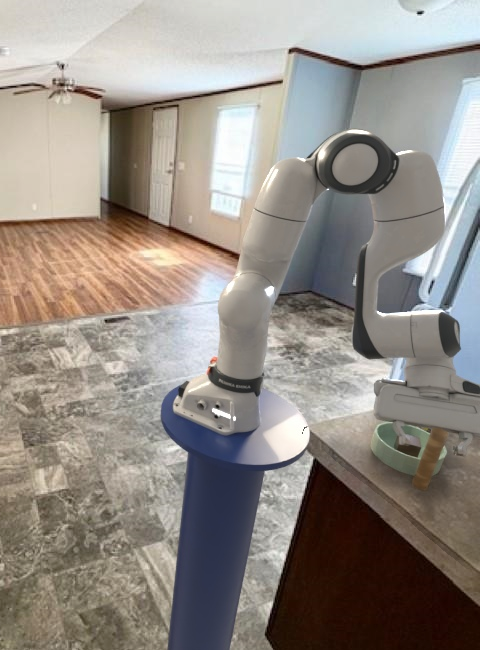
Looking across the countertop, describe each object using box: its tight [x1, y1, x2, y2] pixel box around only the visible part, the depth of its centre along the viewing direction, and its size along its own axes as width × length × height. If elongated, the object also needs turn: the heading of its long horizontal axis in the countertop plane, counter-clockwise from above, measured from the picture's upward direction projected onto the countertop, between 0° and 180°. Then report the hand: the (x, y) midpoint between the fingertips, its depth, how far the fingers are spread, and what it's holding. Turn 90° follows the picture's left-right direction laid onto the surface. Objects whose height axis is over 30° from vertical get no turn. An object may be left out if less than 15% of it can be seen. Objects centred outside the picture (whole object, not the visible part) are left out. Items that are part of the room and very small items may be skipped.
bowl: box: [370, 421, 448, 477], centre depth 96 cm, size 13×13×4 cm
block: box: [394, 434, 421, 458], centre depth 96 cm, size 4×4×4 cm
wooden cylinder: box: [411, 427, 449, 491], centre depth 86 cm, size 3×3×14 cm
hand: (431, 450), depth 86 cm, fingers open, 8 cm apart
